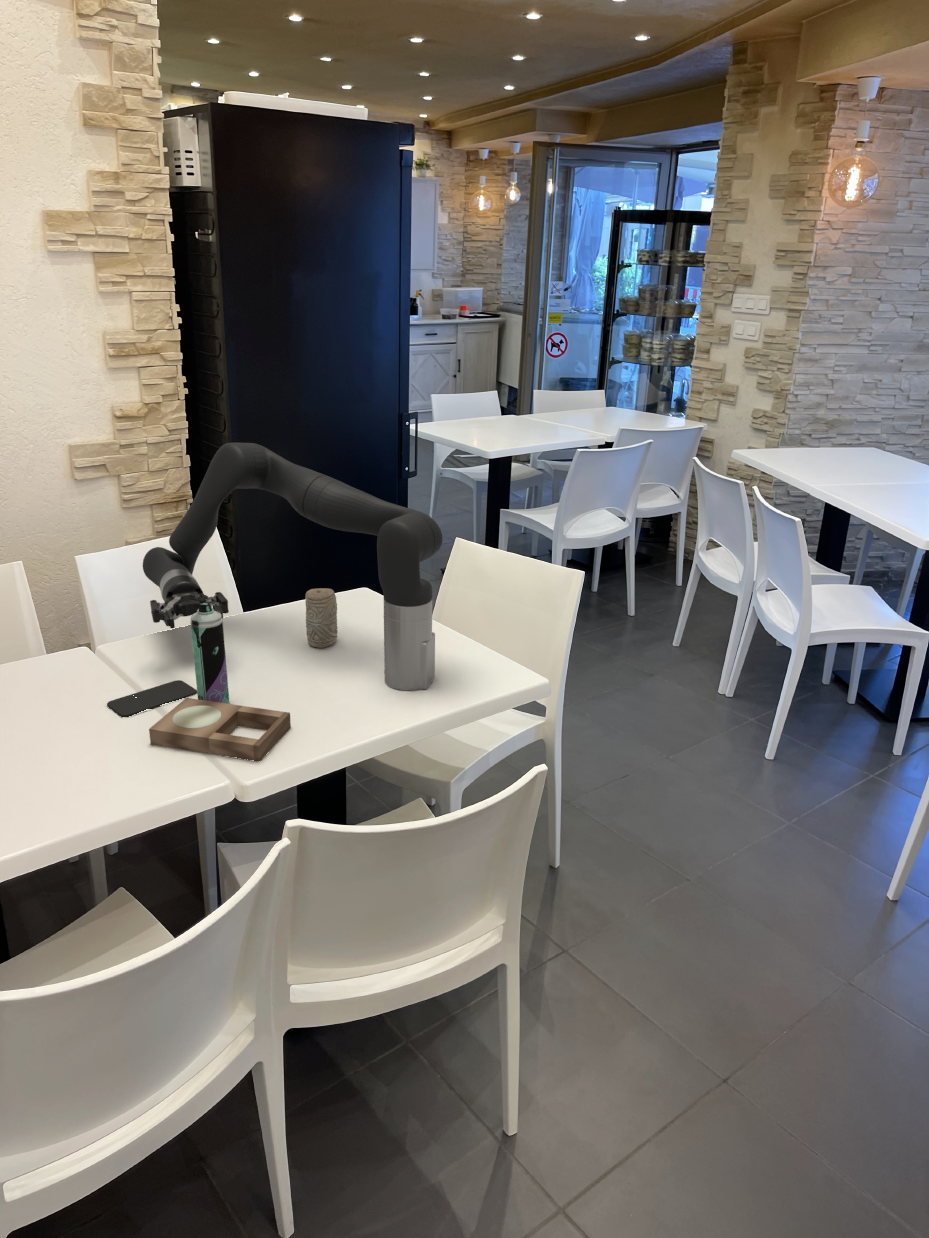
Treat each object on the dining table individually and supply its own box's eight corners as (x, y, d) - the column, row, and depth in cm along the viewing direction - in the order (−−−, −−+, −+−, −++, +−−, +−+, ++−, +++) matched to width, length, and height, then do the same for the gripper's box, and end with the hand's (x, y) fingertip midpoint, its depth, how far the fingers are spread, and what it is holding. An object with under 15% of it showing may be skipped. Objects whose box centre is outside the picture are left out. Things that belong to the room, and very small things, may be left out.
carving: (301, 648, 190) (298, 595, 185) (316, 635, 196) (314, 583, 192) (328, 652, 188) (326, 598, 183) (343, 639, 195) (341, 587, 190)
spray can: (222, 713, 162) (213, 610, 155) (193, 710, 163) (183, 607, 155) (234, 699, 167) (225, 599, 160) (206, 696, 168) (196, 596, 160)
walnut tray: (290, 727, 158) (289, 711, 157) (259, 762, 147) (258, 745, 146) (188, 712, 162) (186, 696, 161) (150, 744, 151) (148, 728, 150)
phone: (199, 691, 169) (123, 716, 159) (199, 695, 170) (123, 720, 160) (179, 678, 174) (104, 702, 164) (180, 682, 174) (105, 706, 164)
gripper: (142, 578, 179) (154, 606, 165) (215, 570, 185) (232, 597, 171) (146, 613, 182) (158, 644, 168) (217, 604, 188) (235, 633, 174)
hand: (195, 620), depth 170 cm, fingers open, 8 cm apart
